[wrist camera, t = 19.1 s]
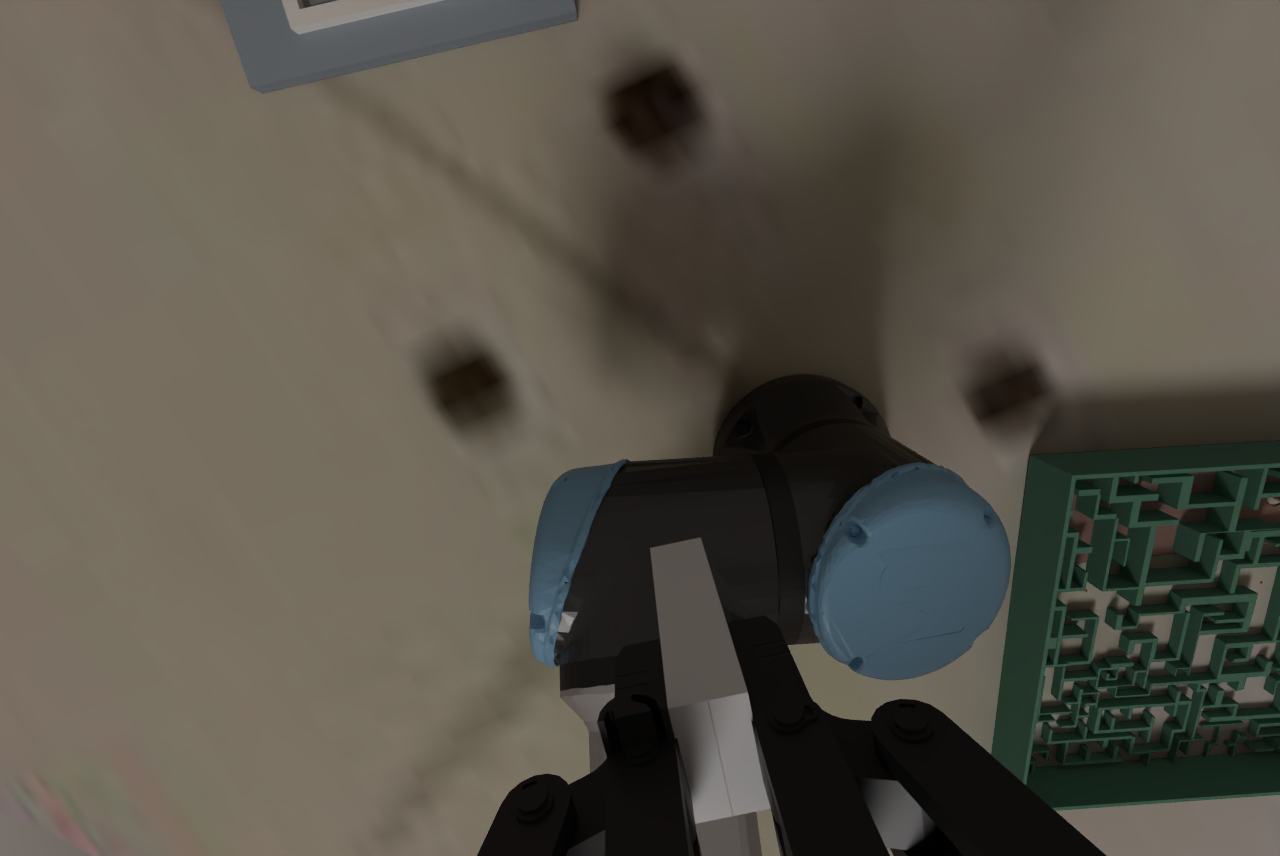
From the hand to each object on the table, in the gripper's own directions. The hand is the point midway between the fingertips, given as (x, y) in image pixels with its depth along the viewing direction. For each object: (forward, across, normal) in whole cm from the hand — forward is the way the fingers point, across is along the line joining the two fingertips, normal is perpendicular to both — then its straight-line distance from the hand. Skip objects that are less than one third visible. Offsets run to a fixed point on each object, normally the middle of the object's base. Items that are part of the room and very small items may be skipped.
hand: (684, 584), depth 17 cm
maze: (+35, -47, +34) cm, 68 cm away
